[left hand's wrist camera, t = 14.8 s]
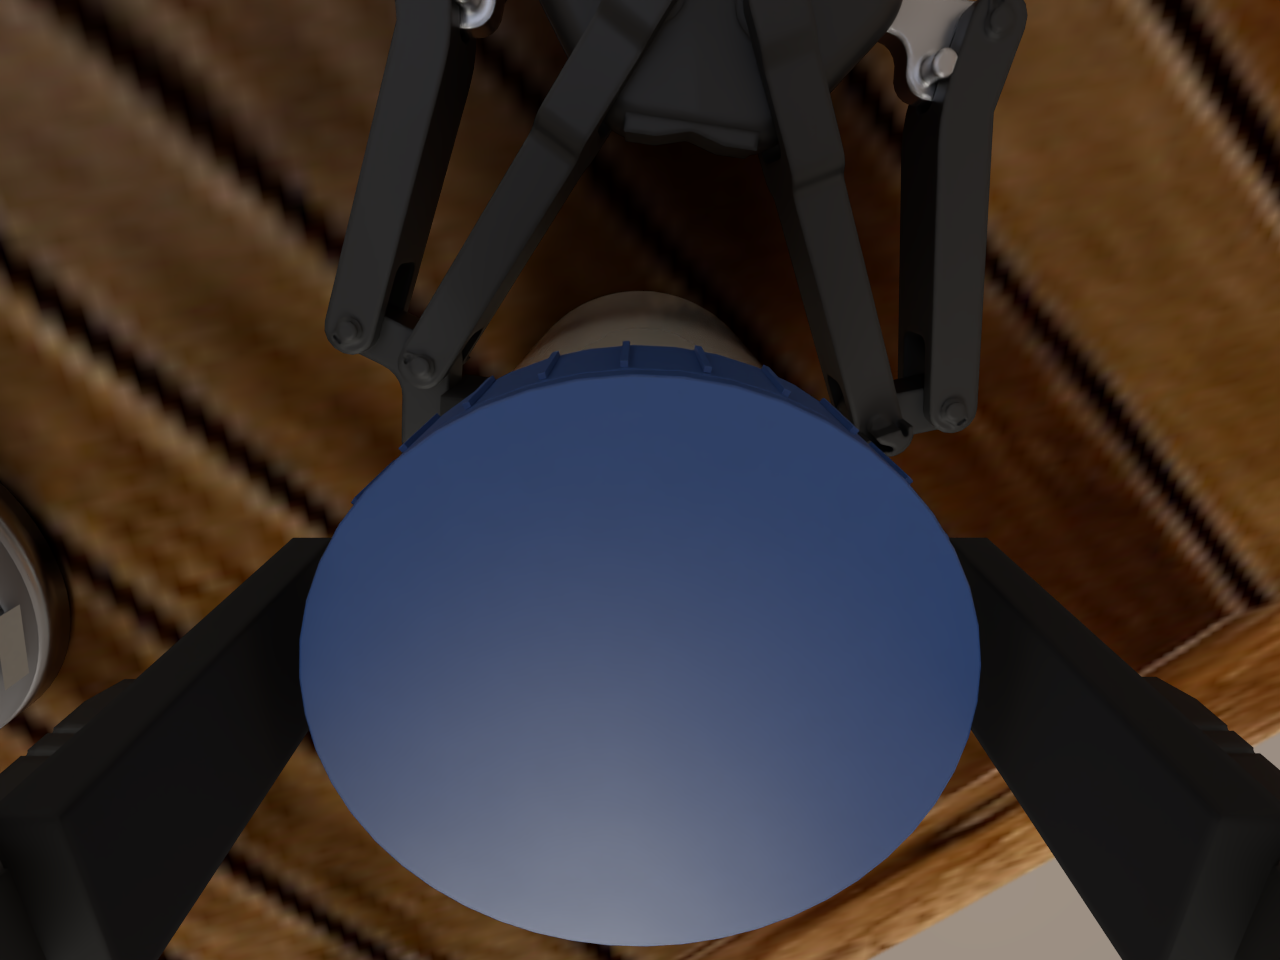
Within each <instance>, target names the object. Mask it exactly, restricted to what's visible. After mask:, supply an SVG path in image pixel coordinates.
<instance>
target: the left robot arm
mask: <svg viewBox="0 0 1280 960" xmlns="http://www.w3.org/2000/svg"><path fill="white" fill-rule="evenodd" d="M331 539H332V538H292V539H291V540H290V541H289V542H288V543H287V544H286V545H285V546H284V547H282V548H281V549H280V550H279V551H278V552H277V553H276V554H275V555H274V556H272V557H271V558H270V559H269V560H268V561H267V562H266V563H265V564H264V565H262V566H261V567H260V568H259V569H258V570H257V571H256V572H255V573H254V574H252V575H251V576H250V577H249V578H248V579H247V580H246V581H245V582H243V583H242V584H241V585H240V586H239V587H238V588H237V589H236V590H235V591H233V592H232V593H231V594H230V595H229V596H228V597H227V598H226V599H225V600H223V601H222V602H221V603H220V604H219V605H218V606H217V607H216V608H215V609H213V610H212V611H211V612H210V613H209V614H208V615H207V616H206V617H205V618H203V619H202V620H201V621H200V622H199V623H198V624H197V625H196V626H195V627H193V628H192V629H191V630H190V631H189V632H188V633H187V634H186V635H185V636H183V637H182V638H181V639H180V640H179V641H178V642H177V643H176V644H175V645H173V646H172V647H171V648H170V649H169V650H168V651H167V652H166V653H165V654H163V655H162V656H161V657H160V658H159V659H158V660H157V661H156V662H154V663H153V664H152V665H151V666H150V667H149V668H148V669H147V670H146V671H144V672H143V673H142V674H141V675H140V676H139V677H138V678H137V679H124V680H122V681H121V682H119V683H117V684H115V685H113V686H112V687H110V688H108V689H106V690H104V691H103V692H101V693H99V694H97V695H95V696H94V697H92V698H90V699H88V700H87V701H85V702H83V703H82V704H81V705H80V706H79V707H78V708H76V709H75V710H74V711H73V712H72V713H71V714H69V715H68V716H67V717H66V718H65V719H64V720H62V721H61V722H60V723H59V724H58V725H57V726H55V727H54V731H53V733H47V734H46V735H45V736H44V737H43V738H41V739H40V740H39V741H38V742H37V743H36V744H34V745H33V746H32V747H31V748H30V749H29V750H28V753H27V755H26V756H20V757H19V758H18V759H17V760H16V761H15V762H13V763H12V764H11V765H10V766H9V767H8V768H6V769H5V770H4V771H3V772H2V773H1V774H0V960H158V958H159V957H160V955H161V954H162V952H163V951H164V949H165V948H166V946H167V945H168V943H169V942H170V940H171V939H172V937H173V936H174V934H175V933H176V931H177V929H178V928H179V926H180V925H181V923H182V922H183V920H184V919H185V917H186V916H187V914H188V913H189V911H190V910H191V908H192V907H193V905H194V904H195V902H196V901H197V899H198V898H199V896H200V895H201V893H202V891H203V890H204V888H205V887H206V885H207V884H208V882H209V881H210V879H211V878H212V876H213V875H214V873H215V872H216V870H217V869H218V867H219V866H220V864H221V863H222V861H223V860H224V858H225V856H226V855H227V853H228V852H229V850H230V849H231V847H232V846H233V844H234V843H235V841H236V840H237V838H238V837H239V835H240V834H241V832H242V831H243V829H244V828H245V826H246V825H247V823H248V822H249V820H250V818H251V817H252V815H253V814H254V812H255V811H256V809H257V808H258V806H259V805H260V803H261V802H262V800H263V799H264V797H265V796H266V794H267V793H268V791H269V790H270V788H271V787H272V785H273V783H274V782H275V780H276V779H277V777H278V776H279V774H280V773H281V771H282V770H283V768H284V767H285V765H286V764H287V762H288V761H289V759H290V758H291V756H292V755H293V753H294V752H295V750H296V749H297V747H298V745H299V744H300V742H301V741H302V739H303V738H304V736H305V735H306V733H307V732H308V730H309V726H308V723H307V720H306V717H305V712H304V706H303V699H302V692H301V686H300V679H299V654H300V634H301V628H302V622H303V616H304V610H305V604H306V599H307V596H308V593H309V590H310V587H311V584H312V581H313V579H314V576H315V573H316V570H317V567H318V564H319V561H320V559H321V557H322V556H323V554H324V552H325V550H326V548H327V546H328V544H329V542H330V540H331ZM949 539H950V542H951V544H952V545H953V547H954V549H955V551H956V554H957V556H958V558H959V561H960V563H961V566H962V568H963V571H964V573H965V576H966V578H967V581H968V583H969V586H970V589H971V594H972V598H973V603H974V607H975V611H976V616H977V620H978V625H979V639H980V655H981V671H980V681H979V692H978V702H977V706H976V710H975V714H974V718H973V722H972V726H971V730H972V732H973V733H974V735H975V736H976V738H977V739H978V741H979V742H980V744H981V745H982V747H983V749H984V750H985V752H986V753H987V755H988V756H989V758H990V759H991V761H992V762H993V764H994V765H995V767H996V768H997V770H998V771H999V773H1000V774H1001V776H1002V777H1003V779H1004V780H1005V782H1006V783H1007V785H1008V787H1009V788H1010V790H1011V791H1012V793H1013V794H1014V796H1015V797H1016V799H1017V800H1018V802H1019V803H1020V805H1021V806H1022V808H1023V809H1024V811H1025V812H1026V814H1027V815H1028V817H1029V818H1030V820H1031V822H1032V823H1033V825H1034V826H1035V828H1036V829H1037V831H1038V832H1039V834H1040V835H1041V837H1042V838H1043V840H1044V841H1045V843H1046V844H1047V846H1048V847H1049V849H1050V850H1051V852H1052V853H1053V855H1054V856H1055V858H1056V860H1057V861H1058V863H1059V864H1060V866H1061V867H1062V869H1063V870H1064V872H1065V873H1066V875H1067V876H1068V878H1069V879H1070V881H1071V882H1072V884H1073V885H1074V887H1075V888H1076V890H1077V891H1078V893H1079V894H1080V896H1081V898H1082V899H1083V901H1084V902H1085V904H1086V905H1087V907H1088V908H1089V910H1090V911H1091V913H1092V914H1093V916H1094V917H1095V919H1096V920H1097V922H1098V923H1099V925H1100V926H1101V928H1102V929H1103V931H1104V933H1105V934H1106V936H1107V937H1108V938H1109V940H1110V942H1111V943H1112V945H1113V946H1114V948H1115V949H1116V951H1117V952H1118V954H1119V955H1120V957H1121V958H1122V960H1280V770H1279V769H1278V768H1277V767H1275V766H1274V765H1273V764H1272V763H1271V762H1270V761H1268V760H1267V759H1266V758H1265V757H1264V756H1263V755H1261V754H1259V753H1254V751H1253V747H1252V746H1251V745H1250V744H1248V743H1247V742H1246V741H1245V740H1244V739H1243V738H1241V737H1240V736H1239V735H1238V734H1237V733H1235V732H1234V731H1229V730H1228V728H1227V725H1226V724H1225V723H1224V722H1223V721H1221V720H1220V719H1219V718H1218V717H1217V716H1215V715H1214V714H1213V713H1212V712H1211V711H1210V710H1208V709H1207V708H1206V707H1205V706H1204V705H1203V704H1201V703H1200V702H1199V701H1198V700H1197V699H1195V698H1193V697H1191V696H1190V695H1188V694H1186V693H1184V692H1182V691H1181V690H1179V689H1177V688H1175V687H1173V686H1172V685H1170V684H1168V683H1166V682H1164V681H1163V680H1161V679H1159V678H1157V677H1141V676H1140V675H1139V674H1138V673H1137V672H1136V671H1134V670H1133V669H1132V668H1131V667H1130V666H1129V665H1128V664H1127V663H1126V662H1124V661H1123V660H1122V659H1121V658H1120V657H1119V656H1118V655H1117V654H1115V653H1114V652H1113V651H1112V650H1111V649H1110V648H1109V647H1108V646H1107V645H1105V644H1104V643H1103V642H1102V641H1101V640H1100V639H1099V638H1098V637H1097V636H1095V635H1094V634H1093V633H1092V632H1091V631H1090V630H1089V629H1088V628H1087V627H1085V626H1084V625H1083V624H1082V623H1081V622H1080V621H1079V620H1078V619H1077V618H1075V617H1074V616H1073V615H1072V614H1071V613H1070V612H1069V611H1068V610H1067V609H1065V608H1064V607H1063V606H1062V605H1061V604H1060V603H1059V602H1058V601H1057V600H1055V599H1054V598H1053V597H1052V596H1051V595H1050V594H1049V593H1048V592H1047V591H1045V590H1044V589H1043V588H1042V587H1041V586H1040V585H1039V584H1038V583H1037V582H1035V581H1034V580H1033V579H1032V578H1031V577H1030V576H1029V575H1028V574H1026V573H1025V572H1024V571H1023V570H1022V569H1021V568H1020V567H1019V566H1018V565H1016V564H1015V563H1014V562H1013V561H1012V560H1011V559H1010V558H1009V557H1008V556H1006V555H1005V554H1004V553H1003V552H1002V551H1001V550H1000V549H999V548H998V547H996V546H995V545H994V544H993V543H992V542H991V541H990V540H989V539H988V538H949ZM70 624H71V621H70V607H69V601H68V595H67V590H66V587H65V583H64V580H63V576H62V574H61V571H60V569H59V566H58V564H57V561H56V559H55V557H54V555H53V553H52V551H51V549H50V547H49V545H48V543H47V541H46V539H45V538H44V536H43V535H42V533H41V531H40V530H39V528H38V527H37V525H36V524H35V522H34V521H33V520H32V518H31V517H30V516H29V514H28V513H27V512H26V510H25V509H24V508H23V507H22V505H21V504H20V503H19V502H18V501H17V500H16V498H15V497H14V496H13V495H12V494H11V493H10V492H9V491H8V490H7V489H6V488H5V487H4V486H3V485H2V484H1V483H0V729H1V728H2V727H3V726H4V725H6V724H7V723H8V722H9V721H11V720H12V719H13V718H15V717H16V716H17V715H18V714H20V713H21V712H22V711H23V710H25V709H26V708H27V707H29V706H30V705H31V704H32V703H33V702H35V701H36V700H37V699H38V698H39V697H40V696H41V695H42V694H43V693H44V692H45V691H46V690H47V689H48V688H49V686H50V685H51V684H52V682H53V681H54V679H55V678H56V676H57V674H58V672H59V670H60V668H61V666H62V664H63V662H64V659H65V656H66V653H67V649H68V643H69V638H70Z"/></svg>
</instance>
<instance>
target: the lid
mask: <svg viewBox="0 0 1280 960" xmlns="http://www.w3.org/2000/svg"><path fill="white" fill-rule="evenodd" d="M858 432H859V430H858V429H857V428H856V427H855V426H854V425H853V424H852V423H851V422H850V421H849V420H848V419H847V418H846V417H844V416H843V415H842V414H841V413H840V412H839V411H838V410H837V409H836V408H835V407H834V406H833V405H832V404H831V403H829V402H828V401H827V400H826V399H824V398H823V399H822V400H821V401H820V402H819V401H818V400H816V399H815V398H813V397H812V396H810V395H809V394H807V393H806V392H804V391H803V390H801V389H800V388H798V387H797V386H795V385H794V384H791V383H789V382H787V381H785V380H783V379H781V378H779V377H778V376H777V375H776V374H775V373H774V372H773V371H772V370H771V369H770V368H769V367H768V366H765V365H763V366H762V368H761V369H760V368H758V367H755V366H752V365H749V364H746V363H743V362H740V361H737V360H733V359H730V358H727V357H724V356H721V355H718V354H713V353H707V352H704V350H703V348H702V347H701V346H697V345H695V347H694V350H690V349H684V348H679V347H667V346H644V345H630V341H623V344H622V346H616V347H604V348H593V349H587V350H582V351H578V352H574V353H569V354H565V355H560V354H559V351H556V352H552V354H551V355H550V357H549V358H548V359H545V360H542V361H540V362H537V363H534V364H532V365H529V366H526V367H523V368H521V369H518V370H515V371H513V372H510V373H508V374H506V375H504V376H503V377H501V378H499V379H497V380H495V378H494V376H491V377H489V378H488V379H487V380H486V381H485V382H484V383H483V384H482V385H481V386H480V387H479V388H478V389H477V390H476V391H475V392H473V393H472V394H470V395H469V396H468V397H466V398H465V399H464V400H462V401H461V402H460V403H458V404H457V405H455V406H454V407H453V408H451V409H450V410H449V411H447V412H446V413H444V414H443V415H442V416H441V417H440V415H439V414H438V413H436V414H435V415H434V416H433V417H432V418H431V419H430V420H429V421H427V422H426V423H425V424H424V425H423V426H422V427H421V428H420V429H419V430H418V431H417V432H416V433H414V434H413V435H412V436H411V437H410V438H409V439H408V440H407V441H406V442H405V443H404V444H402V445H401V446H400V447H399V449H400V450H401V451H402V454H401V455H400V456H399V457H398V458H397V459H396V460H393V461H392V462H391V463H390V464H389V465H388V466H387V467H386V468H385V469H384V470H383V471H382V472H381V473H380V474H379V475H378V476H377V477H376V478H375V479H373V480H372V481H371V482H370V483H369V484H368V485H367V486H366V487H365V488H364V489H363V490H362V491H361V492H360V493H359V494H358V495H357V496H356V497H355V498H354V499H353V500H352V502H351V503H352V504H353V507H352V508H351V509H350V511H349V512H348V513H347V515H346V516H345V517H344V519H343V520H342V521H341V523H340V524H339V525H338V527H337V529H336V531H335V533H334V535H333V537H332V539H331V540H330V542H329V544H328V546H327V548H326V550H325V552H324V554H323V556H322V557H321V559H320V561H319V564H318V567H317V570H316V573H315V576H314V579H313V581H312V584H311V587H310V590H309V593H308V596H307V599H306V604H305V610H304V616H303V622H302V628H301V634H300V654H299V679H300V686H301V692H302V699H303V706H304V712H305V717H306V720H307V723H308V726H309V730H310V733H311V736H312V739H313V743H314V746H315V749H316V751H317V753H318V756H319V758H320V760H321V762H322V764H323V766H324V768H325V770H326V772H327V774H328V777H329V779H330V781H331V783H332V784H333V786H334V787H335V789H336V790H337V792H338V793H339V795H340V797H341V798H342V800H343V801H344V803H345V804H346V806H347V807H348V809H349V810H350V812H351V813H352V814H353V816H354V817H355V818H356V819H357V820H358V821H359V823H360V824H361V825H362V826H363V827H364V828H365V830H366V831H367V832H368V833H369V834H370V835H371V837H372V838H373V839H374V840H375V841H376V842H377V843H378V844H379V845H380V846H381V847H382V848H384V849H385V850H386V851H387V852H388V853H389V854H390V855H391V856H392V857H393V858H394V859H396V860H397V861H398V862H399V863H400V864H401V865H402V866H403V867H405V868H406V869H408V870H409V871H410V872H412V873H413V874H415V875H416V876H417V877H419V878H420V879H421V880H423V881H424V882H426V883H427V884H428V885H430V886H431V887H433V888H434V889H436V890H438V891H440V892H441V893H443V894H445V895H447V896H448V897H450V898H452V899H454V900H455V901H457V902H459V903H461V904H462V905H464V906H466V907H469V908H471V909H473V910H475V911H478V912H480V913H482V914H485V915H487V916H489V917H491V918H494V919H496V920H498V921H501V922H504V923H507V924H510V925H513V926H516V927H520V928H523V929H526V930H529V931H532V932H535V933H540V934H544V935H549V936H553V937H558V938H562V939H567V940H571V941H579V942H587V943H596V944H604V945H621V946H659V945H675V944H687V943H693V942H700V941H706V940H712V939H719V938H724V937H727V936H731V935H735V934H739V933H743V932H747V931H751V930H755V929H758V928H761V927H764V926H767V925H769V924H772V923H775V922H778V921H780V920H783V919H786V918H789V917H792V916H794V915H796V914H798V913H800V912H802V911H804V910H806V909H808V908H811V907H813V906H815V905H817V904H819V903H821V902H823V901H825V900H827V899H829V898H830V897H832V896H833V895H835V894H837V893H838V892H840V891H842V890H843V889H845V888H846V887H848V886H850V885H851V884H853V883H855V882H856V881H858V880H859V879H860V878H862V877H863V876H864V875H865V874H867V873H868V872H869V871H871V870H872V869H873V868H874V867H876V866H877V865H878V864H880V863H881V862H882V861H883V860H885V859H886V858H887V857H888V856H889V855H890V854H891V853H892V852H893V851H894V850H895V849H896V848H897V847H898V846H899V845H900V844H901V843H902V842H903V841H904V840H905V839H906V838H907V837H908V836H909V835H910V834H911V833H912V832H913V831H914V830H915V829H916V827H917V826H918V825H919V824H920V822H921V821H922V820H923V819H924V817H925V816H926V815H927V813H928V812H929V811H930V810H931V808H932V807H933V806H934V805H935V803H936V802H937V800H938V798H939V797H940V795H941V793H942V792H943V790H944V788H945V786H946V785H947V783H948V781H949V780H950V778H951V776H952V775H953V773H954V771H955V769H956V766H957V764H958V762H959V759H960V757H961V754H962V752H963V750H964V747H965V745H966V742H967V740H968V738H969V734H970V730H971V726H972V722H973V718H974V714H975V710H976V706H977V702H978V692H979V681H980V671H981V655H980V639H979V625H978V620H977V616H976V611H975V607H974V603H973V598H972V594H971V589H970V586H969V583H968V581H967V578H966V576H965V573H964V571H963V568H962V566H961V563H960V561H959V558H958V556H957V554H956V551H955V549H954V547H953V545H952V544H951V542H950V539H949V537H948V535H947V534H946V533H945V532H944V530H943V529H942V527H941V525H940V524H939V522H938V520H937V519H936V517H935V515H934V514H933V512H932V511H931V510H930V509H929V507H928V506H927V505H926V504H925V503H924V501H923V500H922V499H921V498H920V497H919V496H918V494H917V493H916V492H915V491H914V490H913V488H912V487H911V486H910V485H909V484H911V483H912V482H913V481H912V479H911V478H910V477H909V476H908V475H907V474H906V473H905V472H904V471H903V470H902V469H900V468H899V467H898V466H897V465H896V464H895V463H894V462H893V461H892V460H891V459H890V458H889V457H888V456H886V455H885V454H884V453H883V452H882V451H881V450H880V449H879V448H878V447H877V446H876V445H875V444H874V443H873V442H870V443H869V444H868V443H867V442H866V441H865V440H863V439H862V438H861V437H860V436H859V435H858V434H857V433H858Z"/></svg>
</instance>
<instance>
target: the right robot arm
mask: <svg viewBox="0 0 1280 960" xmlns="http://www.w3.org/2000/svg"><path fill="white" fill-rule="evenodd" d="M506 1H507V0H395V4H396V17H397V21H396V25H395V29H394V34H393V38H392V42H391V46H390V50H389V55H388V59H387V63H386V67H385V71H384V76H383V80H382V84H381V88H380V92H379V97H378V101H377V105H376V109H375V113H374V118H373V122H372V126H371V130H370V134H369V139H368V143H367V147H366V151H365V155H364V160H363V164H362V168H361V172H360V176H359V181H358V185H357V189H356V193H355V197H354V202H353V206H352V210H351V214H350V218H349V223H348V227H347V231H346V235H345V239H344V244H343V248H342V252H341V256H340V260H339V265H338V269H337V273H336V277H335V281H334V286H333V290H332V294H331V298H330V302H329V307H328V311H327V315H326V319H325V333H326V335H327V338H328V340H329V342H330V343H331V344H332V345H333V346H334V348H336V349H338V350H339V351H341V352H343V353H347V354H352V355H353V354H358V353H359V354H361V355H363V356H365V357H367V358H369V359H371V360H373V361H375V362H377V363H379V364H381V365H383V366H385V367H386V368H388V369H390V370H391V371H392V372H393V373H394V374H395V376H396V377H397V379H398V380H399V382H400V385H401V388H402V395H403V403H402V444H404V443H405V442H406V441H407V440H408V439H409V438H410V437H411V436H412V435H413V434H414V433H416V432H417V431H418V430H419V429H420V428H421V427H422V426H423V425H424V424H425V423H426V422H427V421H429V420H430V419H431V418H432V417H433V416H434V415H435V414H436V413H438V414H439V415H440V417H441V416H442V415H443V414H444V413H446V412H447V411H449V410H450V409H451V408H453V407H454V406H455V405H457V404H458V403H460V402H461V401H462V400H464V399H465V398H466V397H468V396H469V395H470V394H472V393H473V392H475V391H476V390H477V389H478V388H479V387H480V386H481V385H482V384H483V383H484V382H485V381H486V380H487V379H488V377H480V376H473V375H465V376H464V377H462V365H463V364H464V363H465V362H466V361H467V360H468V359H469V358H470V357H469V354H470V352H471V351H472V349H473V348H474V346H475V344H476V343H477V341H478V340H479V338H480V336H481V335H482V333H483V332H484V330H485V328H486V327H487V325H488V324H489V322H490V320H491V319H492V317H493V316H494V314H495V312H496V311H497V309H498V308H499V306H500V305H501V303H502V301H503V300H504V298H505V297H506V295H507V293H508V292H509V290H510V289H511V287H512V285H513V284H514V282H515V281H516V279H517V277H518V276H519V274H520V273H521V271H522V269H523V268H524V266H525V265H526V263H527V261H528V260H529V258H530V257H531V255H532V253H533V252H534V250H535V249H536V247H537V245H538V244H539V242H540V241H541V239H542V237H543V236H544V234H545V233H546V231H547V229H548V228H549V226H550V225H551V223H552V221H553V220H554V218H555V217H556V215H557V214H558V212H559V210H560V209H561V207H562V206H563V204H564V202H565V201H566V199H567V198H568V196H569V194H570V193H571V191H572V190H573V188H574V186H575V185H576V183H577V182H578V180H579V178H580V177H581V175H582V174H583V172H584V171H585V170H586V168H587V167H588V166H589V165H590V164H591V162H592V161H593V159H594V158H595V156H596V155H597V153H598V152H599V150H600V149H601V147H602V145H603V144H604V142H605V141H606V139H607V137H608V136H609V134H610V133H611V131H612V130H613V131H614V132H616V133H617V134H619V135H621V136H623V137H625V141H627V142H634V143H641V144H648V145H654V146H655V145H662V144H669V143H676V142H683V141H686V142H690V143H692V144H694V145H696V146H698V147H700V148H702V149H705V150H707V151H709V152H711V153H713V154H715V155H722V156H729V157H735V158H742V159H745V158H746V157H748V156H750V155H754V154H758V155H759V159H760V163H761V166H762V170H763V173H764V177H765V180H766V183H767V186H768V188H769V191H770V193H771V194H772V196H773V198H774V201H775V204H776V207H777V211H778V214H779V218H780V221H781V225H782V229H783V232H784V236H785V239H786V243H787V247H788V250H789V254H790V257H791V261H792V264H793V268H794V272H795V275H796V279H797V282H798V286H799V290H800V293H801V297H802V300H803V304H804V308H805V311H806V315H807V318H808V322H809V325H810V329H811V333H812V336H813V340H814V343H815V347H816V351H817V354H818V358H819V361H820V365H821V369H822V372H823V376H824V379H825V383H826V386H827V390H828V394H829V397H830V401H831V404H832V405H833V406H834V407H835V408H836V409H837V410H838V411H839V412H840V413H841V414H842V415H843V416H844V417H846V418H847V419H848V420H849V421H850V422H851V423H852V424H853V425H854V426H855V427H856V428H857V429H858V430H859V432H858V433H857V434H858V435H859V436H860V437H861V438H862V439H863V440H865V441H866V442H867V443H868V444H869V443H870V442H873V443H874V444H875V445H876V446H877V447H878V448H879V449H880V450H881V451H882V452H883V453H884V454H885V455H886V456H888V457H889V456H895V455H897V454H899V453H901V452H903V451H904V450H905V449H906V448H907V447H908V446H909V444H910V443H911V440H912V437H913V434H917V433H922V432H927V431H932V430H937V429H939V430H941V431H942V432H947V433H954V432H957V431H961V430H963V429H964V428H965V427H967V426H968V425H969V424H970V423H971V422H972V420H973V419H974V417H975V414H976V410H977V399H978V381H979V363H980V346H981V328H982V310H983V292H984V274H985V256H986V239H987V221H988V203H989V185H990V167H991V149H992V132H993V114H994V110H995V107H996V105H997V102H998V99H999V96H1000V94H1001V91H1002V88H1003V86H1004V83H1005V80H1006V78H1007V75H1008V72H1009V70H1010V67H1011V64H1012V62H1013V59H1014V56H1015V53H1016V51H1017V48H1018V45H1019V43H1020V40H1021V37H1022V35H1023V32H1024V29H1025V25H1026V20H1027V10H1026V4H1025V2H1024V0H977V1H968V0H539V1H540V3H541V5H542V7H543V9H544V11H545V13H546V15H547V17H548V19H549V21H550V23H551V25H552V27H553V29H554V31H555V33H556V35H557V37H558V39H559V41H560V43H561V45H562V47H563V49H564V51H565V53H566V55H567V57H568V60H567V62H566V64H565V65H564V67H563V69H562V71H561V72H560V74H559V76H558V77H557V79H556V81H555V82H554V84H553V86H552V88H551V89H550V91H549V93H548V94H547V96H546V98H545V99H544V101H543V103H542V105H541V107H540V108H539V110H538V113H537V115H536V117H535V120H534V124H533V127H532V129H531V131H530V133H529V135H528V137H527V139H526V140H525V142H524V144H523V145H522V147H521V149H520V150H519V152H518V154H517V155H516V157H515V159H514V161H513V162H512V164H511V166H510V167H509V169H508V171H507V172H506V174H505V176H504V177H503V179H502V181H501V183H500V184H499V186H498V188H497V189H496V191H495V193H494V194H493V196H492V198H491V199H490V201H489V203H488V205H487V206H486V208H485V210H484V211H483V213H482V215H481V216H480V218H479V220H478V221H477V223H476V225H475V226H474V228H473V230H472V232H471V233H470V235H469V237H468V238H467V240H466V242H465V243H464V245H463V247H462V248H461V250H460V252H459V254H458V255H457V257H456V259H455V260H454V262H453V264H452V265H451V267H450V269H449V270H448V272H447V274H446V276H445V277H444V279H443V281H442V282H441V284H440V286H439V287H438V289H437V291H436V292H435V294H434V296H433V297H432V299H431V301H430V303H429V304H428V306H427V308H426V309H425V311H424V313H423V314H422V316H421V318H418V317H416V316H414V315H412V314H410V313H408V308H409V305H410V301H411V297H412V294H413V290H414V287H415V283H416V279H417V276H418V272H419V268H420V265H421V261H422V258H423V254H424V250H425V247H426V243H427V240H428V236H429V232H430V229H431V225H432V222H433V218H434V214H435V211H436V207H437V203H438V200H439V196H440V193H441V189H442V185H443V182H444V178H445V175H446V171H447V167H448V164H449V160H450V157H451V153H452V149H453V146H454V142H455V138H456V135H457V131H458V128H459V124H460V120H461V117H462V113H463V110H464V106H465V102H466V99H467V95H468V92H469V88H470V83H471V79H472V74H473V70H474V62H475V53H476V38H483V37H487V36H489V35H491V34H492V33H493V32H494V31H495V30H496V29H497V28H498V26H499V24H500V23H501V20H502V15H503V10H504V5H505V3H506ZM877 42H879V43H881V44H883V45H885V46H886V47H887V48H888V49H889V51H890V53H891V54H892V56H893V60H894V65H895V67H894V80H893V84H894V89H895V92H896V94H897V96H898V97H899V98H900V99H901V100H902V101H903V102H905V103H907V104H909V106H908V109H907V113H906V118H905V124H904V130H903V138H902V153H901V213H900V277H899V341H898V379H895V380H893V378H892V373H891V369H890V365H889V361H888V357H887V353H886V349H885V345H884V341H883V337H882V333H881V329H880V324H879V320H878V316H877V312H876V308H875V304H874V300H873V296H872V292H871V288H870V284H869V279H868V275H867V271H866V267H865V263H864V259H863V255H862V251H861V247H860V243H859V239H858V234H857V230H856V226H855V222H854V218H853V214H852V210H851V206H850V202H849V198H848V194H847V189H846V185H845V181H844V167H845V157H844V151H843V146H842V142H841V138H840V134H839V130H838V125H837V121H836V117H835V113H834V109H833V105H832V101H831V96H830V93H831V91H832V90H833V89H834V88H835V87H836V86H837V85H838V84H839V83H840V82H841V81H842V80H843V78H844V77H845V76H846V75H847V74H848V73H849V72H850V71H851V70H852V69H853V68H854V67H855V65H856V64H857V63H858V62H859V61H860V60H861V59H862V58H863V57H864V56H865V55H866V54H867V53H868V51H869V50H870V49H871V48H872V47H873V46H874V45H875V44H876V43H877Z"/></svg>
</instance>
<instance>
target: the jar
mask: <svg viewBox="0 0 1280 960" xmlns="http://www.w3.org/2000/svg"><path fill="white" fill-rule="evenodd" d="M623 341H630V345H644V346H667V347H679V348H684V349H690V350H694V347H695V345H697V346H701V347H702V348H703V350H704V352H707V353H713V354H718V355H721V356H724V357H727V358H730V359H733V360H737V361H740V362H743V363H746V364H749V365H752V366H755V367H758V368H760V369H761V368H762V364H761V363H760V362H759V361H758V360H757V359H756V358H755V356H754V355H753V354H752V353H751V352H750V351H749V350H748V348H747V347H746V346H745V345H744V344H743V343H742V342H741V340H740V339H739V338H738V337H737V336H736V335H735V334H734V333H733V332H732V331H731V329H730V328H729V327H728V326H727V325H726V324H725V323H723V322H722V321H721V320H720V319H719V318H717V317H716V316H715V315H714V314H712V313H711V312H709V311H707V310H706V309H704V308H702V307H701V306H699V305H697V304H695V303H692V302H690V301H688V300H686V299H683V298H680V297H677V296H673V295H670V294H665V293H659V292H652V291H629V292H621V293H614V294H611V295H607V296H603V297H599V298H597V299H594V300H592V301H590V302H587V303H585V304H583V305H581V306H579V307H578V308H576V309H574V310H572V311H571V312H569V313H568V314H566V315H565V316H564V317H563V318H561V319H560V320H559V321H558V322H556V323H555V324H554V325H553V326H552V327H551V328H550V329H549V330H548V331H547V332H546V333H545V334H544V336H543V337H542V338H541V339H540V340H539V341H538V342H537V344H536V345H535V346H534V347H533V348H532V349H531V350H530V352H529V353H528V354H527V355H526V356H525V357H524V358H523V359H522V361H521V362H520V363H519V364H518V365H517V366H516V367H515V369H514V370H513V371H515V370H518V369H521V368H523V367H526V366H529V365H532V364H534V363H537V362H540V361H542V360H545V359H548V358H549V357H550V355H551V354H552V352H556V351H559V354H560V355H565V354H569V353H574V352H578V351H582V350H587V349H593V348H604V347H616V346H622V344H623ZM513 371H512V372H513Z"/></svg>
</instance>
